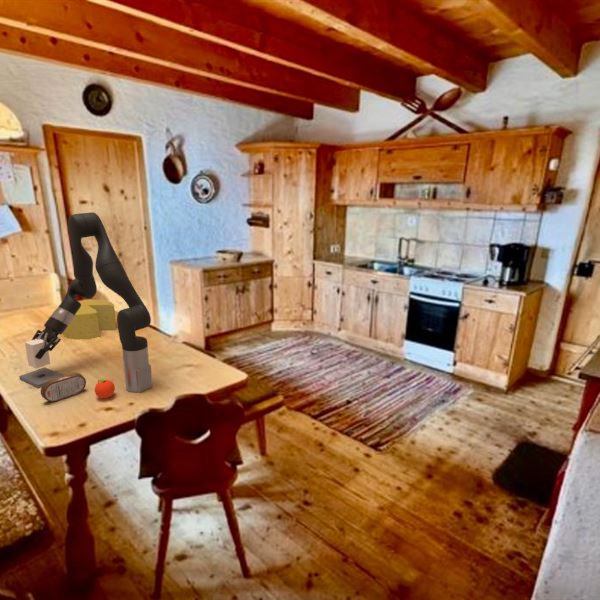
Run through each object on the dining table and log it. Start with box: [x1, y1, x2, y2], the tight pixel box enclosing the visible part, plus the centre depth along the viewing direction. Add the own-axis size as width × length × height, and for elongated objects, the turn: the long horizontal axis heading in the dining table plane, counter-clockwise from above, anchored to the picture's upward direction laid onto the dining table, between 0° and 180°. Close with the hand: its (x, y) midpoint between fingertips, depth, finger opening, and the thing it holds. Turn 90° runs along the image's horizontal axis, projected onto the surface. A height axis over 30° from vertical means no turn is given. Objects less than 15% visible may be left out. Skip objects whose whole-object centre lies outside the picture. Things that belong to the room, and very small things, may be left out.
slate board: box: [19, 366, 65, 389], centre depth 161 cm, size 14×10×2 cm
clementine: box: [94, 378, 116, 399], centre depth 149 cm, size 8×7×7 cm
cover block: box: [24, 339, 51, 370], centre depth 158 cm, size 6×6×10 cm
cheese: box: [62, 299, 117, 340], centre depth 215 cm, size 26×26×15 cm
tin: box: [40, 372, 87, 403], centre depth 147 cm, size 15×3×8 cm, turn 141°
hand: (33, 356), depth 157 cm, fingers closed on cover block, 5 cm apart
